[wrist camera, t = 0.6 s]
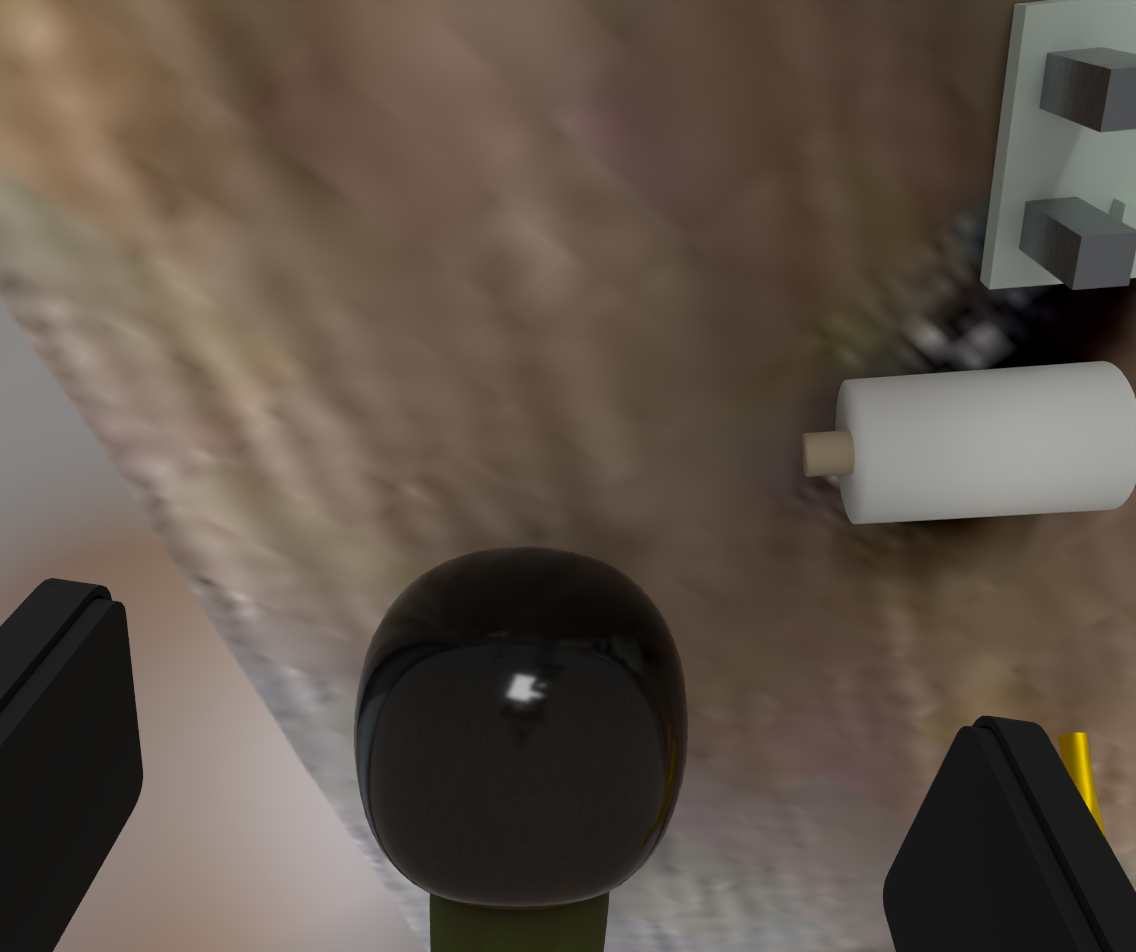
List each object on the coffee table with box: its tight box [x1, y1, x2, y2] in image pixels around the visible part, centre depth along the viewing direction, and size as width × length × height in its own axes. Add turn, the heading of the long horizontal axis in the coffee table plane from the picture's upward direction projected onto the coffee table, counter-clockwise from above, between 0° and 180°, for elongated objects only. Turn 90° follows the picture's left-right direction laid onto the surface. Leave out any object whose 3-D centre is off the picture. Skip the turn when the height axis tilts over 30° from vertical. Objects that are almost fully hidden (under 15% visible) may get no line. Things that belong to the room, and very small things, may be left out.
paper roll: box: [801, 361, 1136, 524], centre depth 41 cm, size 7×15×7 cm, turn 96°
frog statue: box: [354, 547, 688, 952], centre depth 47 cm, size 19×16×25 cm
